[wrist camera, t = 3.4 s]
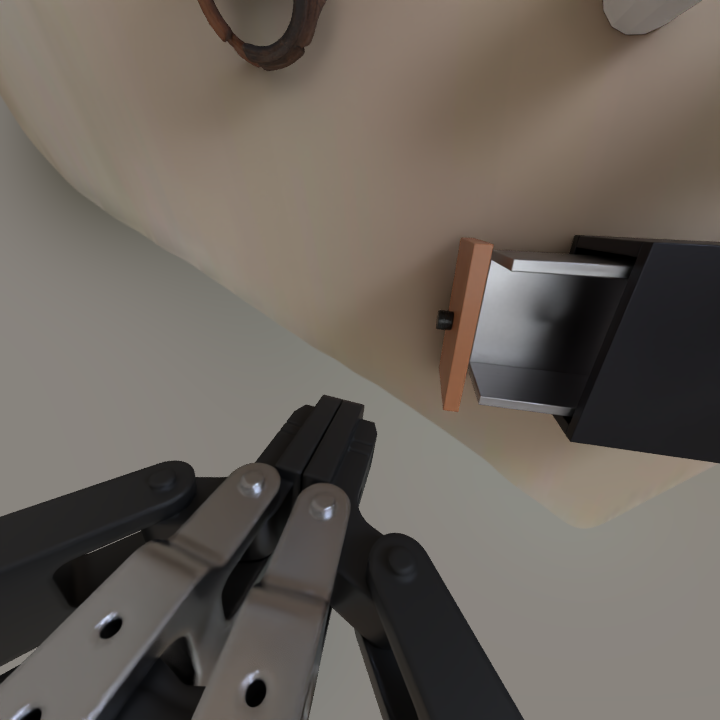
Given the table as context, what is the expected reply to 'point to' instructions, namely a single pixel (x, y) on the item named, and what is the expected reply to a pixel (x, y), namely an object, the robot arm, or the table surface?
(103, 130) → the table surface
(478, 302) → the orange pull-out drawer
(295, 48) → the brown hollow curved piece
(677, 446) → the small drawer unit
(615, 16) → the white tapered cup
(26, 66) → the table surface
